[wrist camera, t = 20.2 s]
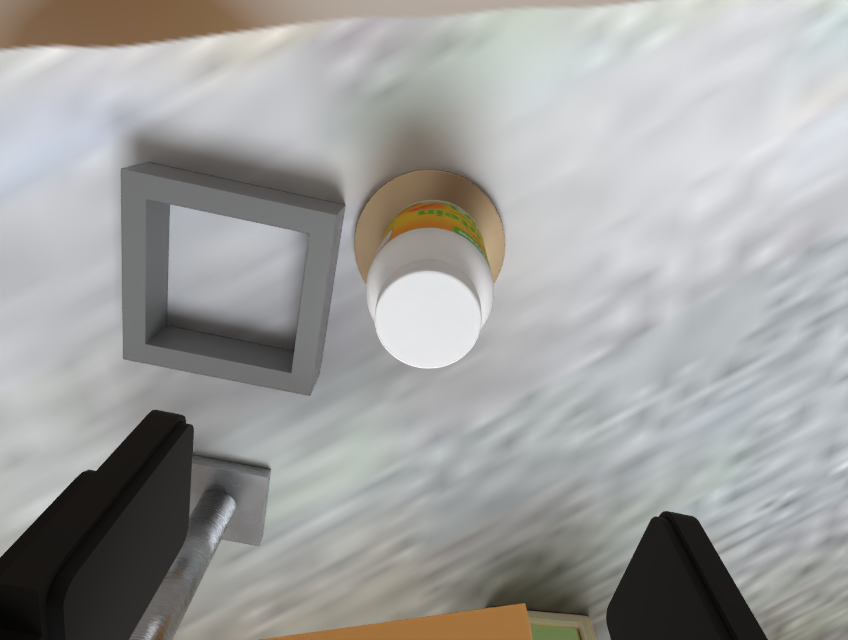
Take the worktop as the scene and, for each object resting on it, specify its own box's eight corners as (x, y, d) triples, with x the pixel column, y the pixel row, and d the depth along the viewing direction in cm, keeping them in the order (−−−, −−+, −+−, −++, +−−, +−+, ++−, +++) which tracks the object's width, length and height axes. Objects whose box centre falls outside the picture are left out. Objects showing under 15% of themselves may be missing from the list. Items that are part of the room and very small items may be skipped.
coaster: (521, 188, 28) (523, 190, 27) (483, 326, 31) (483, 330, 31) (369, 154, 28) (367, 155, 27) (345, 298, 31) (343, 301, 30)
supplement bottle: (501, 223, 28) (528, 286, 19) (457, 311, 30) (464, 405, 21) (405, 180, 27) (387, 225, 19) (367, 273, 29) (334, 354, 21)
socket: (345, 205, 29) (336, 215, 26) (319, 374, 33) (310, 395, 30) (147, 161, 28) (120, 168, 26) (145, 339, 32) (123, 359, 30)
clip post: (270, 469, 36) (198, 630, 25) (262, 537, 38) (193, 710, 27) (178, 452, 35) (66, 607, 25) (176, 521, 38) (72, 690, 27)
